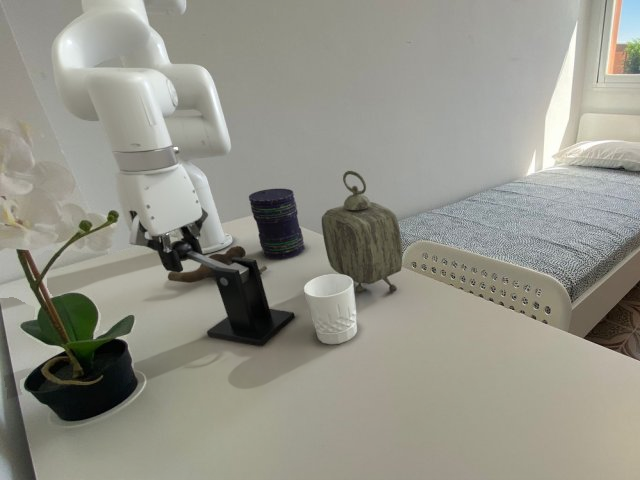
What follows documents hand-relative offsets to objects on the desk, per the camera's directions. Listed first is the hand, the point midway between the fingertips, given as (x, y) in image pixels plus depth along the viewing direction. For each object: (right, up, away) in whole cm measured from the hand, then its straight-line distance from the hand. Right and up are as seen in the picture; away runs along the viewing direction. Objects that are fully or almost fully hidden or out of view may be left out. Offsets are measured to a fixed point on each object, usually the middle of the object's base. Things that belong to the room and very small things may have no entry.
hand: (185, 264), depth 72 cm
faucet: (-4, -2, +21) cm, 21 cm away
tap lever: (+4, -1, -1) cm, 5 cm away
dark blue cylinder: (+2, +4, +32) cm, 33 cm away
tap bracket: (+10, -11, +3) cm, 16 cm away
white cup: (+26, -13, +2) cm, 29 cm away
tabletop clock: (+28, -5, +16) cm, 32 cm away
